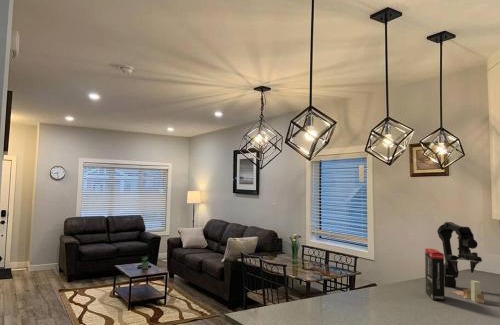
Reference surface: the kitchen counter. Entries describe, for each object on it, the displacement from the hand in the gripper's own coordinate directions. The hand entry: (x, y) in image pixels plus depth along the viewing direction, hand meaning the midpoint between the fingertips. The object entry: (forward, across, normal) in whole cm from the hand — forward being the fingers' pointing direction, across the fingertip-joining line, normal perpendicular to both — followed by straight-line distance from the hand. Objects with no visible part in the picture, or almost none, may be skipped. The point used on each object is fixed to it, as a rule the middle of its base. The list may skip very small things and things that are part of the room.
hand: (464, 272), depth 228 cm
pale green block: (+14, -1, -14) cm, 19 cm away
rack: (+14, -1, -12) cm, 18 cm away
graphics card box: (+14, -23, -10) cm, 29 cm away
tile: (+13, 0, +2) cm, 13 cm away
